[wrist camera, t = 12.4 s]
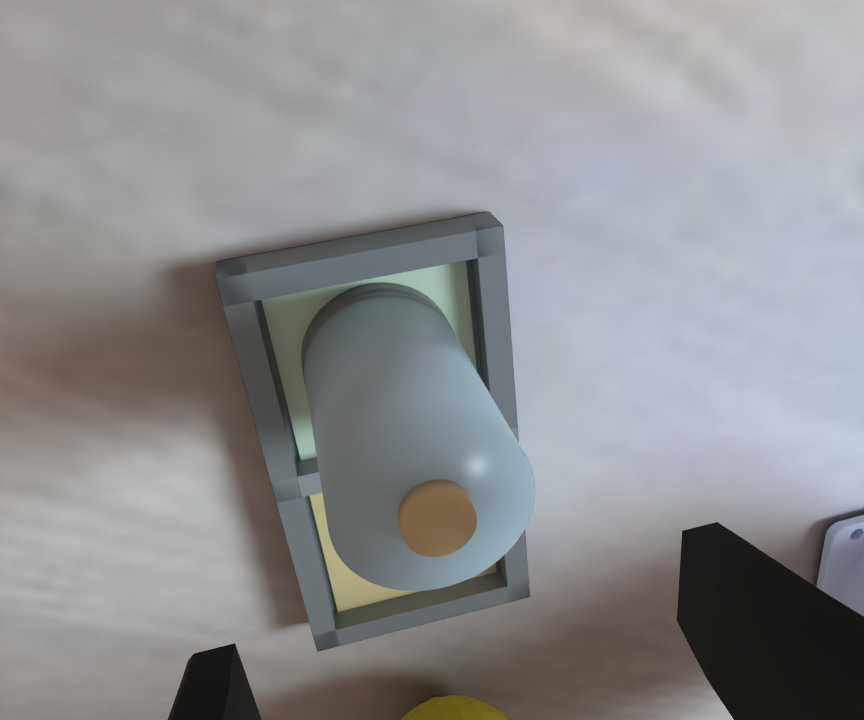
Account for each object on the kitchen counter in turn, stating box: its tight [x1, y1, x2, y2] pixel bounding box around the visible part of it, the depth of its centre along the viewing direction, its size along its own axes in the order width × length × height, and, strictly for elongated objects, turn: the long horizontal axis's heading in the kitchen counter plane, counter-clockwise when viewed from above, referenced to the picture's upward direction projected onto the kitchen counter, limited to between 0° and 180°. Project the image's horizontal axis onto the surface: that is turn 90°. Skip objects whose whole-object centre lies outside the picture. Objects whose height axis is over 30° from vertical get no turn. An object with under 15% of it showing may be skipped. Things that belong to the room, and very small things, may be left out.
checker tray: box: [216, 212, 530, 652], centre depth 21 cm, size 7×12×1 cm, turn 7°
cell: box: [301, 282, 535, 591], centre depth 17 cm, size 4×4×7 cm
